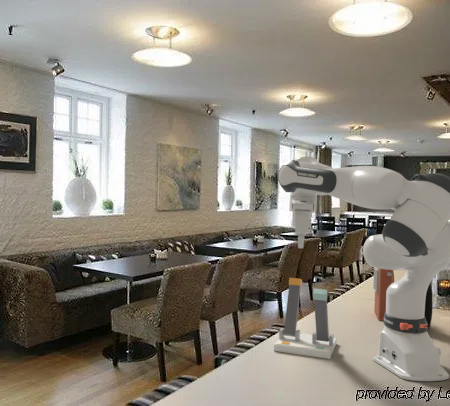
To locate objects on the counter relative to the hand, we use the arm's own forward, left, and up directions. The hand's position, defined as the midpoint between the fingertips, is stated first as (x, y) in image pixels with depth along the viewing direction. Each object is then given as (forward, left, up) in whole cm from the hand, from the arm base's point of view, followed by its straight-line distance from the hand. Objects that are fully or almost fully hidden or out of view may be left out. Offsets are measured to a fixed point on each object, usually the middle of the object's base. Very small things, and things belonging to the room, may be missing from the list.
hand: (300, 248), depth 149 cm
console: (0, -2, -33) cm, 33 cm away
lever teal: (-3, -7, -29) cm, 30 cm away
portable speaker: (+17, -50, -33) cm, 62 cm away
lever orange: (+2, +3, -29) cm, 29 cm away
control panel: (+35, -44, -33) cm, 65 cm away
